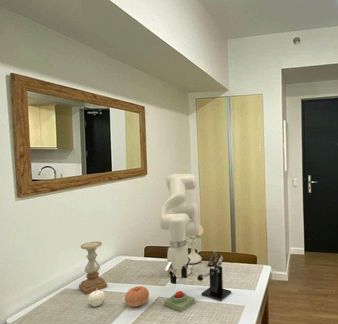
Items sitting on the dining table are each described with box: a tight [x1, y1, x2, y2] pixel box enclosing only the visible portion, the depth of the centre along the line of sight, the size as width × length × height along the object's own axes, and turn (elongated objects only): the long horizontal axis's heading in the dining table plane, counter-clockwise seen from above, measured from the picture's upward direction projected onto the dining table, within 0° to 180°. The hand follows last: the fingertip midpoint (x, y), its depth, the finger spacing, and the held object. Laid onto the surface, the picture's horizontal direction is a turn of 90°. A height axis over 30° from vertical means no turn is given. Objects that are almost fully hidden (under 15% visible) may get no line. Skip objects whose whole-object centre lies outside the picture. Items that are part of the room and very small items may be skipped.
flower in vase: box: [188, 224, 204, 265], centre depth 183 cm, size 13×11×25 cm
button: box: [174, 290, 184, 298], centre depth 131 cm, size 4×4×2 cm
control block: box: [163, 292, 196, 312], centre depth 132 cm, size 11×9×4 cm
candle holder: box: [78, 240, 108, 295], centre depth 150 cm, size 11×11×24 cm
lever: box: [197, 267, 220, 282], centre depth 143 cm, size 15×3×3 cm, turn 59°
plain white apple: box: [87, 288, 106, 307], centre depth 133 cm, size 7×7×8 cm
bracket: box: [201, 265, 232, 302], centre depth 140 cm, size 12×9×14 cm
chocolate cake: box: [207, 250, 224, 267], centre depth 180 cm, size 10×7×12 cm
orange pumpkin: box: [124, 285, 150, 308], centre depth 132 cm, size 11×11×8 cm
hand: (178, 280), depth 131 cm, fingers open, 6 cm apart
